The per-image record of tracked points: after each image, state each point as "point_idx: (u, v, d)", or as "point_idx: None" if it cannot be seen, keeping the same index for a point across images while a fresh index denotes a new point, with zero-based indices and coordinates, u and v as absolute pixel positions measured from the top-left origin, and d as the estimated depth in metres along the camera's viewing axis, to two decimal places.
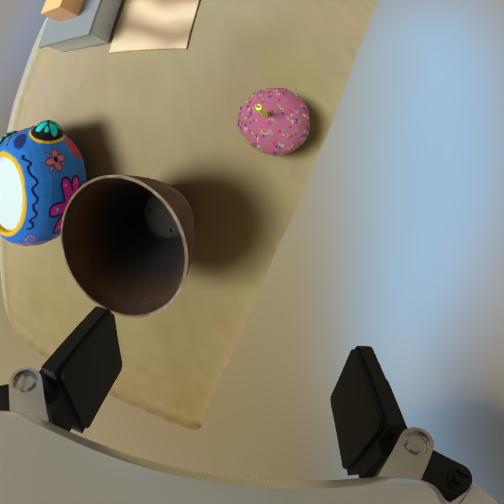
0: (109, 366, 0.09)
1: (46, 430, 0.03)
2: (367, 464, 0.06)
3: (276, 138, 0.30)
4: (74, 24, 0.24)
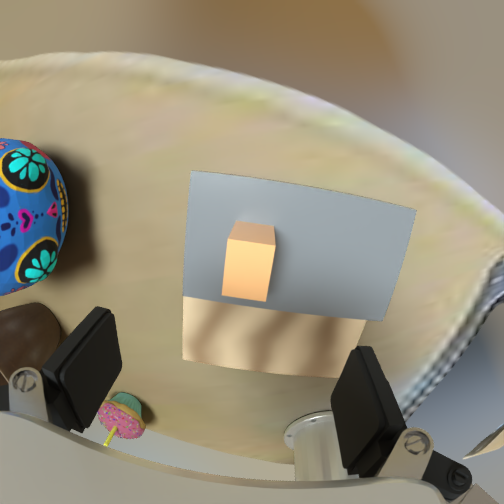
0: (109, 366, 0.09)
1: (46, 430, 0.03)
2: (367, 464, 0.06)
3: (105, 426, 0.35)
4: (213, 262, 0.24)
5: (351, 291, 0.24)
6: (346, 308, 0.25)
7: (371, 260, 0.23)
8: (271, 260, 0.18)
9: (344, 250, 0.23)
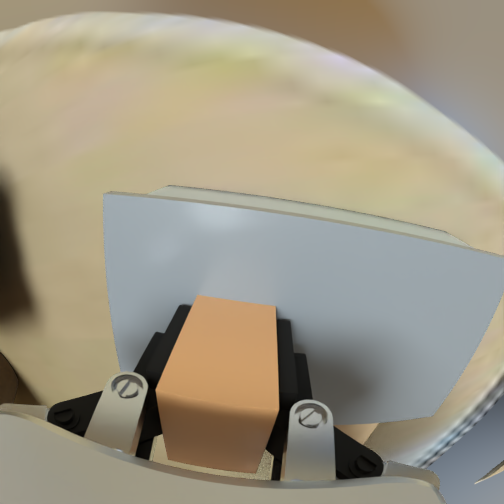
0: None
1: (46, 430, 0.03)
2: None
3: None
4: None
5: (400, 392, 0.12)
6: (388, 412, 0.13)
7: (440, 347, 0.11)
8: (267, 430, 0.06)
9: (403, 339, 0.11)
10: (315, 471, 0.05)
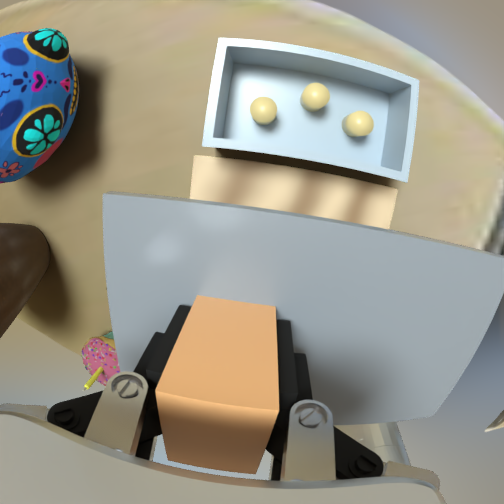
0: None
1: (46, 430, 0.03)
2: None
3: (90, 370, 0.31)
4: None
5: (400, 392, 0.12)
6: (388, 412, 0.13)
7: (440, 347, 0.11)
8: (267, 431, 0.06)
9: (403, 339, 0.11)
10: (315, 471, 0.05)
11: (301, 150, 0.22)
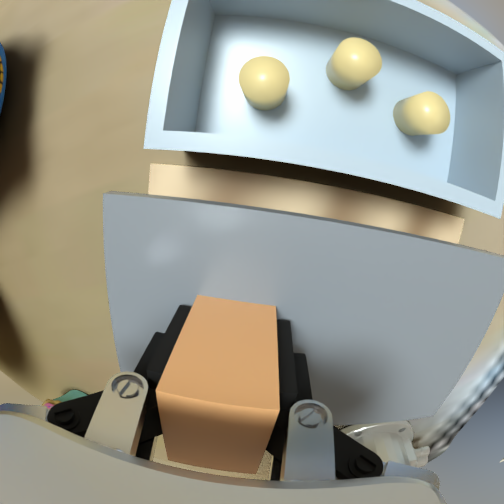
0: None
1: (46, 430, 0.03)
2: None
3: None
4: None
5: (401, 392, 0.12)
6: (388, 412, 0.13)
7: (441, 347, 0.11)
8: (268, 431, 0.06)
9: (404, 339, 0.11)
10: (315, 471, 0.05)
11: (341, 155, 0.10)
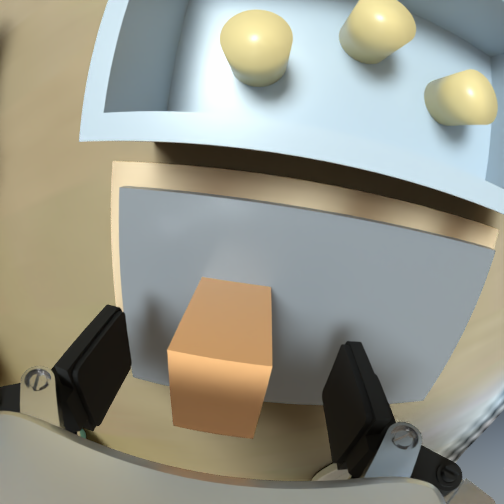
0: (120, 364, 0.10)
1: (46, 430, 0.03)
2: (355, 458, 0.06)
3: None
4: (169, 340, 0.14)
5: (389, 373, 0.14)
6: None
7: (425, 330, 0.13)
8: (263, 389, 0.08)
9: (388, 320, 0.13)
10: None
11: (376, 145, 0.06)
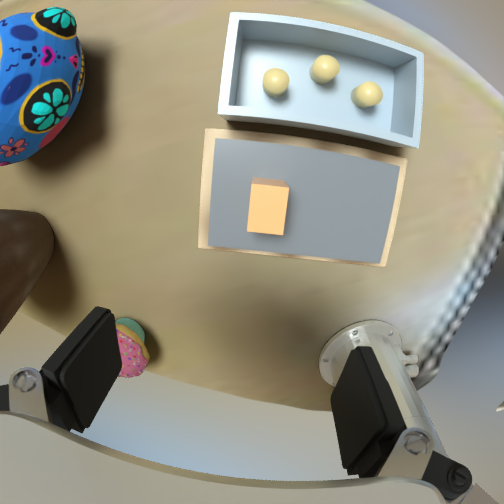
0: (109, 366, 0.09)
1: (46, 430, 0.03)
2: (367, 464, 0.06)
3: None
4: (234, 213, 0.28)
5: (351, 235, 0.29)
6: (348, 251, 0.29)
7: (365, 208, 0.28)
8: (286, 199, 0.23)
9: (342, 199, 0.27)
10: None
11: (316, 116, 0.21)
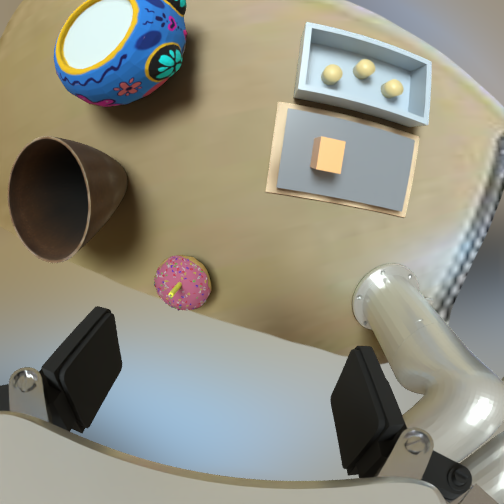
0: (109, 366, 0.09)
1: (46, 430, 0.03)
2: (367, 464, 0.06)
3: (163, 290, 0.39)
4: (299, 164, 0.36)
5: (381, 187, 0.37)
6: (379, 199, 0.37)
7: (391, 167, 0.36)
8: (343, 149, 0.31)
9: (375, 160, 0.35)
10: None
11: (362, 98, 0.29)
